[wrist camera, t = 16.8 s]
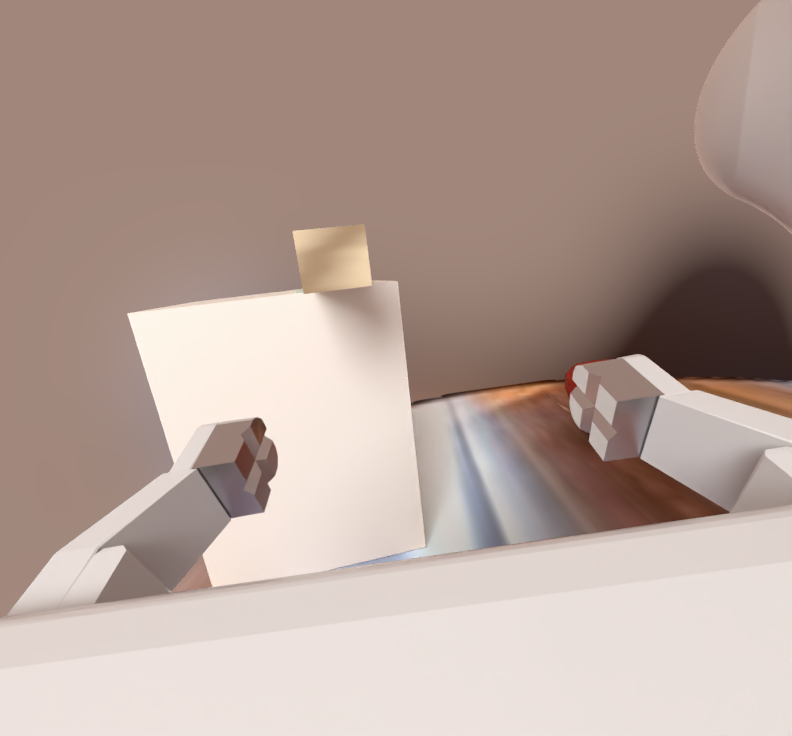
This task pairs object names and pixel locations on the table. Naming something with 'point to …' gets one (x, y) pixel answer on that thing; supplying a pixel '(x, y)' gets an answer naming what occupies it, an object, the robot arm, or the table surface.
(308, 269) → the tan rectangular block
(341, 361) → the white cardboard box
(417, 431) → the table surface
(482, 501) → the table surface
